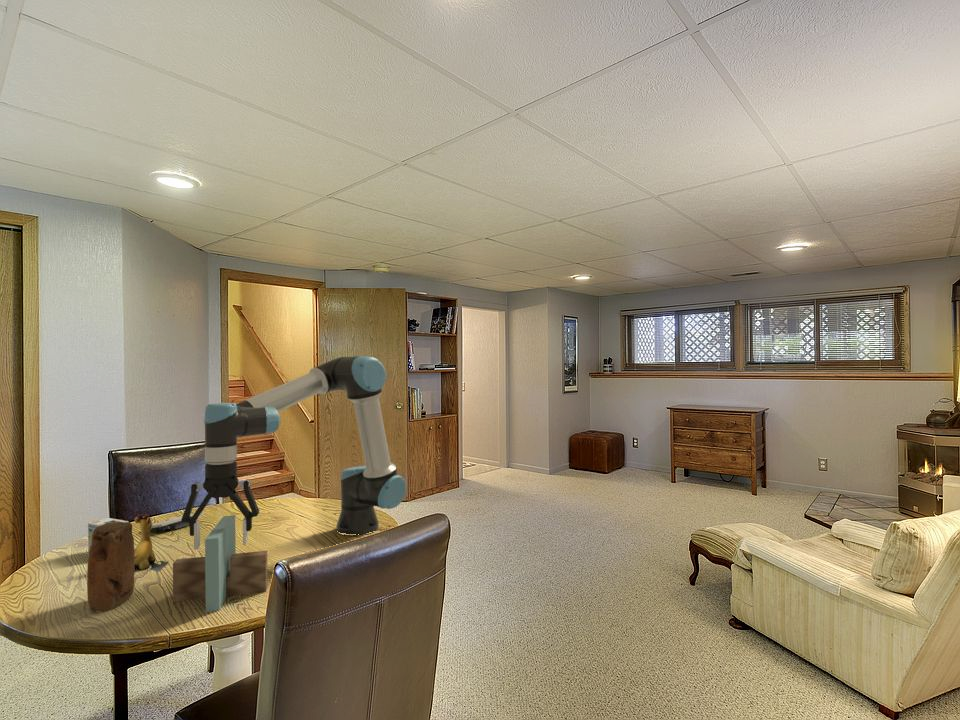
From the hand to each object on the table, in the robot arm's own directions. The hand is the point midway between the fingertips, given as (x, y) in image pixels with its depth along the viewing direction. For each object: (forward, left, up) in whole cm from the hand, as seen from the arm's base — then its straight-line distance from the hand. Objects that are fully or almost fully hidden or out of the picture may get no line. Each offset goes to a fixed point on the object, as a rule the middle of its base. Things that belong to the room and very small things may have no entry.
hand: (221, 545), depth 134 cm
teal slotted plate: (0, 0, -13) cm, 13 cm away
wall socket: (+26, -64, -14) cm, 70 cm away
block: (+26, -2, -13) cm, 29 cm away
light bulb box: (+42, -42, -13) cm, 61 cm away
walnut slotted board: (0, 0, -13) cm, 13 cm away
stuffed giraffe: (+29, -26, -13) cm, 41 cm away
